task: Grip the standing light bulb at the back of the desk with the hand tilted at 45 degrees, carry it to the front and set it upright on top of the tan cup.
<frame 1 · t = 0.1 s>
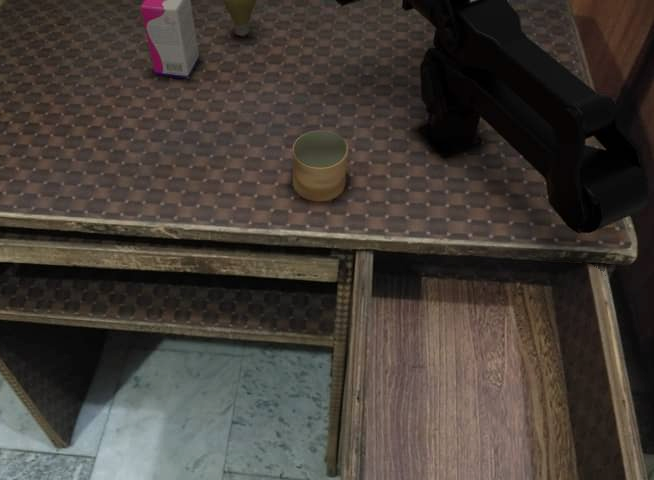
tan cup: (320, 148, 80), on the table
supplement box: (177, 67, 101), on the table
light bulb: (242, 36, 105), on the table
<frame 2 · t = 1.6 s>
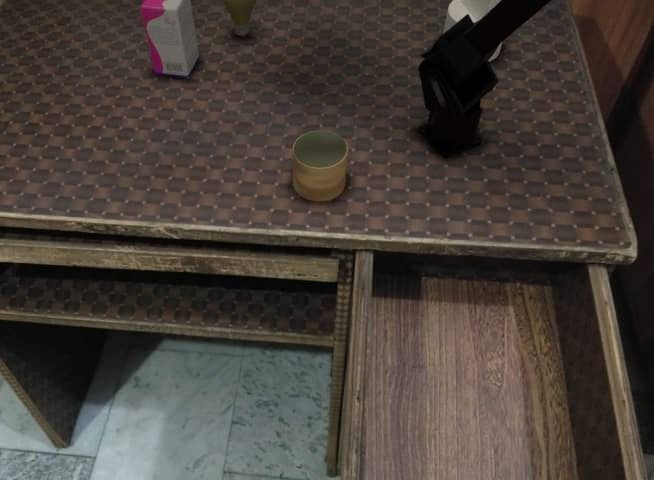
nothing on the table moved.
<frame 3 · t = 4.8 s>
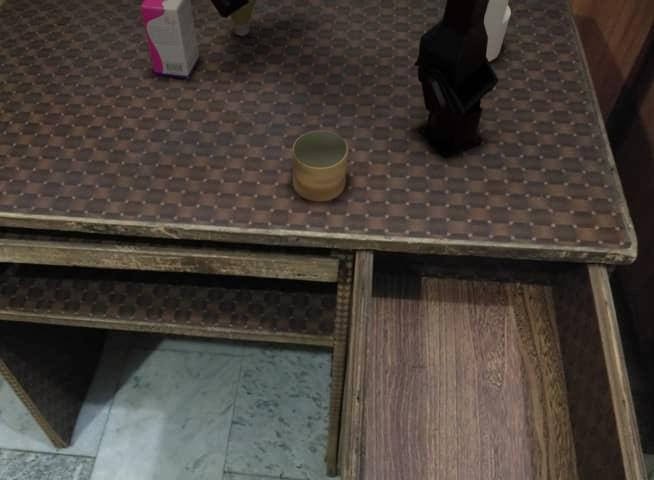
light bulb: (242, 36, 105), on the table, touching gripper
everything else where it was.
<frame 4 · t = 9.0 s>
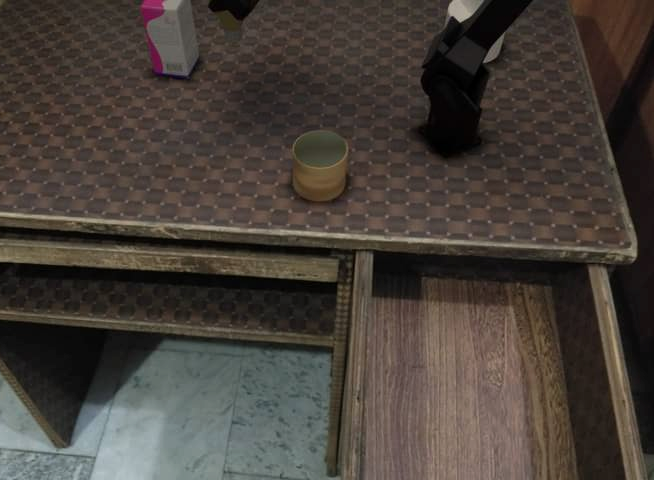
light bulb: (234, 44, 90), point 8 cm above the table, touching gripper
everything else where it was.
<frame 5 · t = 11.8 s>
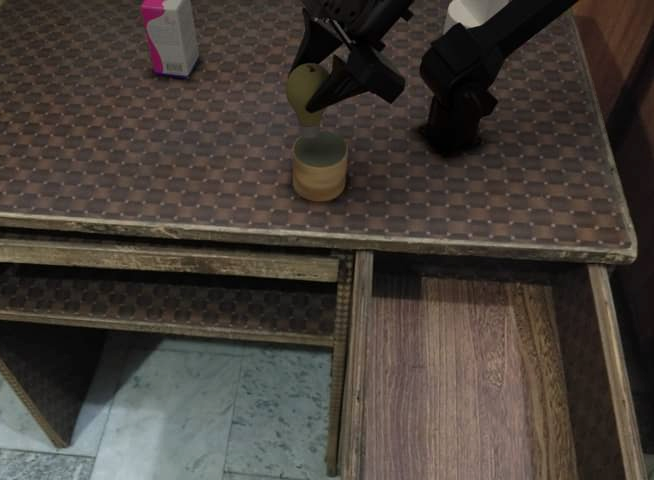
hand: (298, 95, 74), 14 cm above the table, tool tilted 45°, fingers closed on light bulb, 5 cm apart
light bulb: (309, 137, 80), point 7 cm above the table, touching gripper
everything else where it was.
when the fingers open (13 cm above the table, at t = 13.6 s): light bulb stays where it is, resting on tan cup.
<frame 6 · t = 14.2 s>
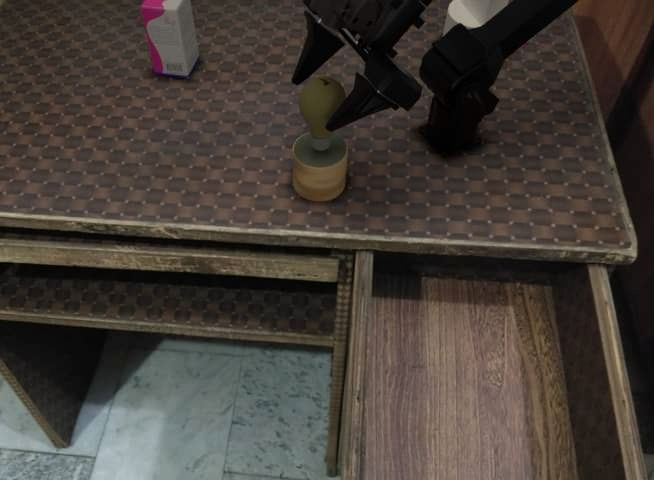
hand: (310, 106, 74), 13 cm above the table, tool tilted 45°, fingers open, 9 cm apart
light bulb: (321, 149, 80), point 6 cm above the table, touching tan cup
everything else where it was.
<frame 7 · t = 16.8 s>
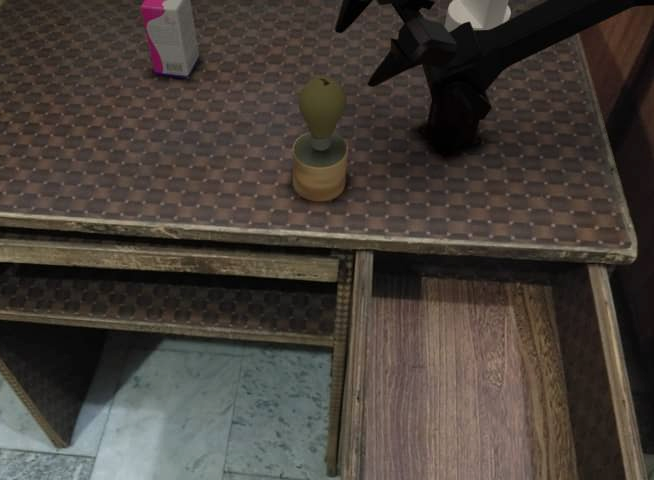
hand: (353, 58, 77), 14 cm above the table, tool tilted 30°, fingers open, 9 cm apart
nothing on the table moved.
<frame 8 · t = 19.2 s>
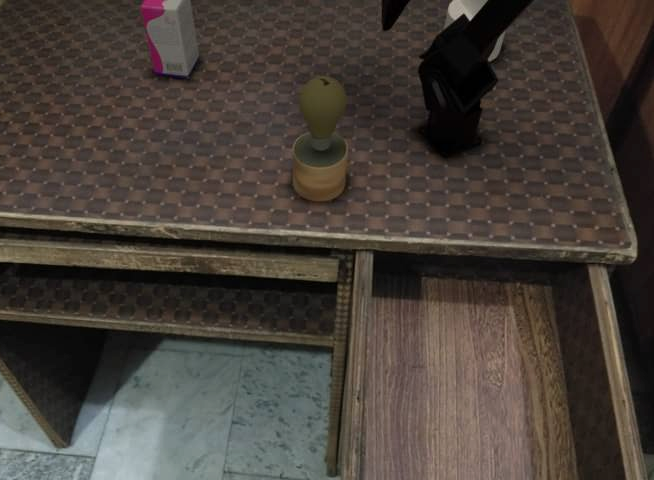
hand: (368, 12, 84), 13 cm above the table, tool pointing down, fingers open, 9 cm apart
nothing on the table moved.
at the end: light bulb 0.1 cm off-centre on the tan cup, point 0.0 cm above the tan cup's base; light bulb tilted 0°; the gripper is holding nothing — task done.
